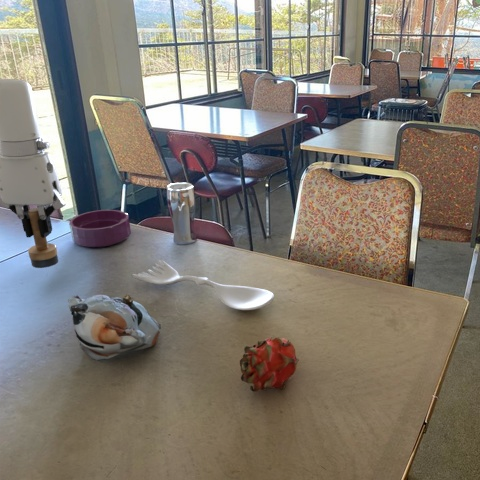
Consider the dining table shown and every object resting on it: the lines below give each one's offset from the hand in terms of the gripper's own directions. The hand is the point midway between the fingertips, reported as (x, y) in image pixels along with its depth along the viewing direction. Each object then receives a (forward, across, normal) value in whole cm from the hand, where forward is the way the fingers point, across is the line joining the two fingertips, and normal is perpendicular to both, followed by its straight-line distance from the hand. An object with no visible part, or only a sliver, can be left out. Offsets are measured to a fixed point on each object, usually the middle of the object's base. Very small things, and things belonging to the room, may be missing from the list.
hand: (39, 234), depth 100 cm
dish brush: (+7, 0, 0) cm, 7 cm away
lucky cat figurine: (+12, -23, +22) cm, 34 cm away
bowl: (+12, -2, -26) cm, 29 cm away
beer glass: (+12, -24, -25) cm, 36 cm away
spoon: (+12, -34, +4) cm, 36 cm away
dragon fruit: (+11, -50, +31) cm, 60 cm away
